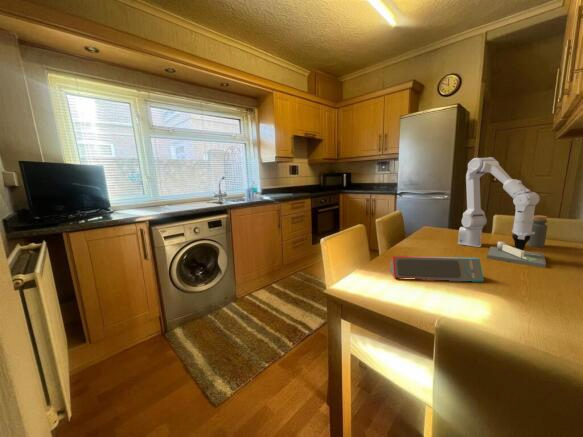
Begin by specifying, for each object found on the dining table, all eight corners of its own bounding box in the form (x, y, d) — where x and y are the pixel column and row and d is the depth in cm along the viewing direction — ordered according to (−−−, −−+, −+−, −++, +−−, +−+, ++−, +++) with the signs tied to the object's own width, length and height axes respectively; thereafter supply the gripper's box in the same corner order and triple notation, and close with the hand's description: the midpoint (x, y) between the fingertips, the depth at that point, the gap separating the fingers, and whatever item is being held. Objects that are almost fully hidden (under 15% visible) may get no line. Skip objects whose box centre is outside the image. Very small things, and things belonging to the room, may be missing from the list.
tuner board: (486, 258, 107) (487, 254, 107) (490, 249, 118) (490, 246, 117) (545, 267, 95) (545, 263, 94) (543, 256, 105) (543, 253, 105)
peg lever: (495, 248, 113) (496, 241, 112) (501, 248, 113) (502, 241, 112) (522, 259, 99) (524, 251, 98) (530, 259, 99) (531, 251, 98)
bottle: (547, 247, 116) (552, 217, 113) (535, 247, 117) (540, 217, 114) (535, 243, 122) (540, 214, 119) (524, 244, 122) (528, 215, 119)
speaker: (476, 252, 90) (391, 251, 95) (488, 273, 83) (396, 271, 88) (468, 267, 95) (388, 265, 101) (479, 288, 88) (392, 284, 94)
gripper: (537, 225, 94) (532, 258, 97) (536, 219, 105) (531, 248, 107) (512, 223, 99) (508, 254, 102) (514, 217, 109) (510, 246, 112)
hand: (518, 251), depth 105 cm, fingers closed
